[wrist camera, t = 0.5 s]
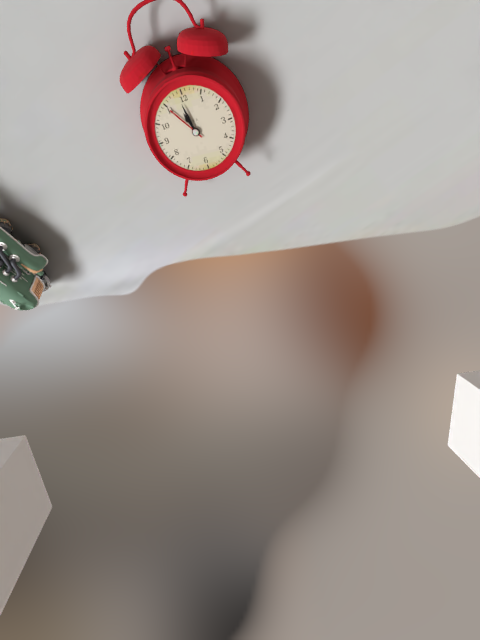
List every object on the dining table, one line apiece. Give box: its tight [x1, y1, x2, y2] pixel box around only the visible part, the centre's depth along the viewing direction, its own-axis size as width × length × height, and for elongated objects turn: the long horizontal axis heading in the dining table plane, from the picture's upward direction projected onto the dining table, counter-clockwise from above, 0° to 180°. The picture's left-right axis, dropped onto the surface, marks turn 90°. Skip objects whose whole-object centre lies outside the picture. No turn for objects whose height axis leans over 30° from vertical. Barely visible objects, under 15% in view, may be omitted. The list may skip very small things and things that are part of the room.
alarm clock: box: [120, 0, 250, 196], centre depth 32 cm, size 10×6×15 cm
